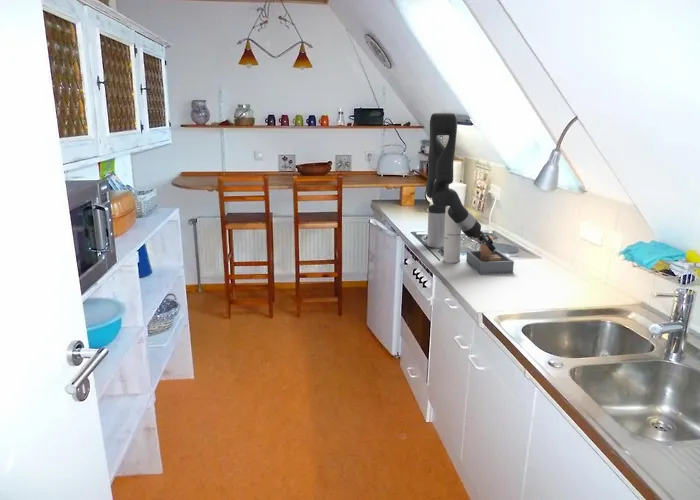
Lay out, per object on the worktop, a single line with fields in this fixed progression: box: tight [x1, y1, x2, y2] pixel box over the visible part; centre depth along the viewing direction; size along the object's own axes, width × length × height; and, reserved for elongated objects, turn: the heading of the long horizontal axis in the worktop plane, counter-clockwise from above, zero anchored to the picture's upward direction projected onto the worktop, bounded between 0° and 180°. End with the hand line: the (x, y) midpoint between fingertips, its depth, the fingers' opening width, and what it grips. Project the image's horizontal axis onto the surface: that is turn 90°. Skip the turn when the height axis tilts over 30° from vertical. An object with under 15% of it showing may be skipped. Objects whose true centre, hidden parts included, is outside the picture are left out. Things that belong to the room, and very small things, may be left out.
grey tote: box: [465, 249, 515, 275], centre depth 212 cm, size 18×14×5 cm
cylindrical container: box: [443, 206, 462, 264], centre depth 219 cm, size 7×7×25 cm
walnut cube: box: [485, 255, 501, 262], centre depth 207 cm, size 5×5×5 cm
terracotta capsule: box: [479, 235, 494, 261], centre depth 214 cm, size 5×5×10 cm
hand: (489, 248), depth 215 cm, fingers closed on terracotta capsule, 5 cm apart
